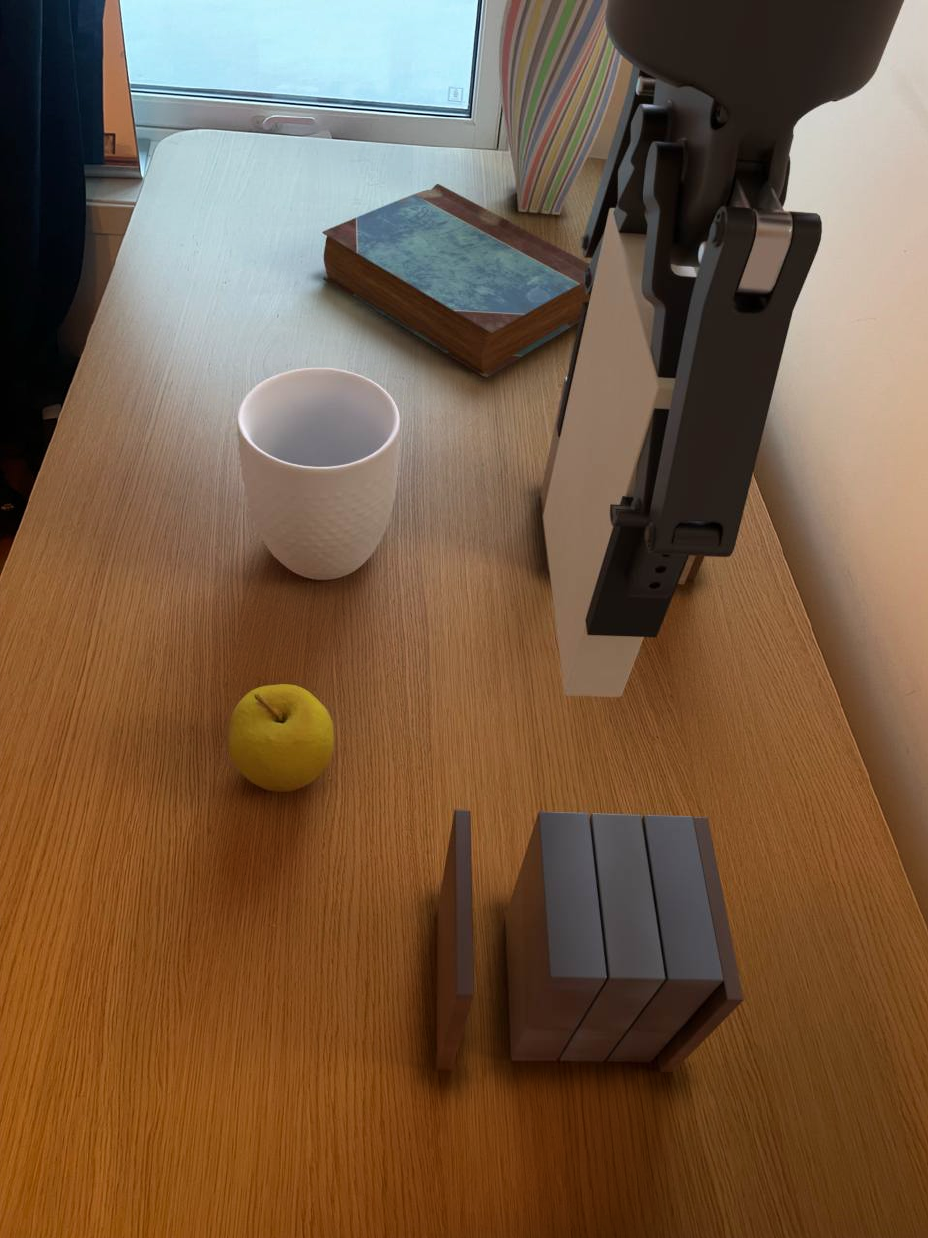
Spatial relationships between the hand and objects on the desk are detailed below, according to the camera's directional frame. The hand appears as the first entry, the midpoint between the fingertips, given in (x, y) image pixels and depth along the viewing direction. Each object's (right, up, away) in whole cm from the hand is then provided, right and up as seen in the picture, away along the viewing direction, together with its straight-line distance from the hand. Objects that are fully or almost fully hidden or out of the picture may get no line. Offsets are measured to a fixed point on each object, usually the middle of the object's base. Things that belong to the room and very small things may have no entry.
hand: (601, 522), depth 40 cm
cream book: (-1, -3, +4) cm, 5 cm away
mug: (-16, +2, +34) cm, 38 cm away
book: (-7, +30, +58) cm, 65 cm away
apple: (-17, -14, +20) cm, 30 cm away
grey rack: (-1, -25, +13) cm, 28 cm away
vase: (+3, +46, +73) cm, 86 cm away
